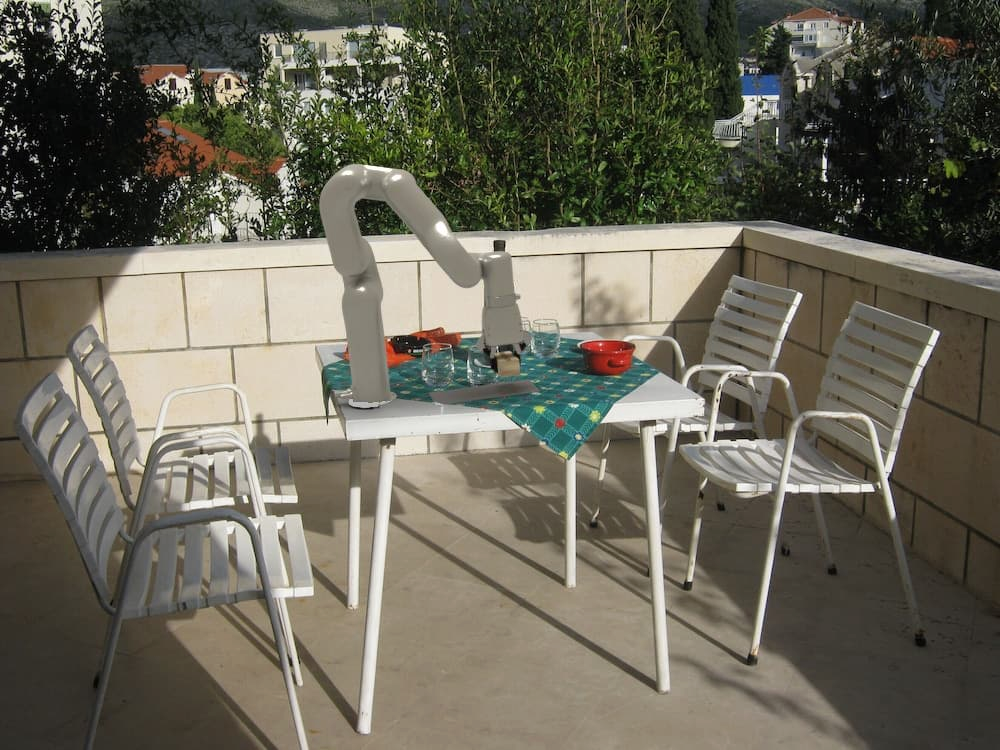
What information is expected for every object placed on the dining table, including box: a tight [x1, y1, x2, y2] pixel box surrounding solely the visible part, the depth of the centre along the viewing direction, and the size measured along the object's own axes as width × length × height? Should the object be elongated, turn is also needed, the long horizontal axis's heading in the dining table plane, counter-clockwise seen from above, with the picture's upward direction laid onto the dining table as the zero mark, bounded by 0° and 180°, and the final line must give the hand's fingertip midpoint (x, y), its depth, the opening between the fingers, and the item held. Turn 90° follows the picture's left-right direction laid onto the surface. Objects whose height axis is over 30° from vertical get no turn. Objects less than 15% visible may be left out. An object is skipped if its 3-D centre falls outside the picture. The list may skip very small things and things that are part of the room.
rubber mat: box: [428, 378, 542, 405], centre depth 276 cm, size 27×12×1 cm, turn 103°
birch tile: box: [495, 350, 521, 379], centre depth 276 cm, size 10×5×4 cm, turn 13°
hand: (506, 369), depth 276 cm, fingers closed on birch tile, 5 cm apart
